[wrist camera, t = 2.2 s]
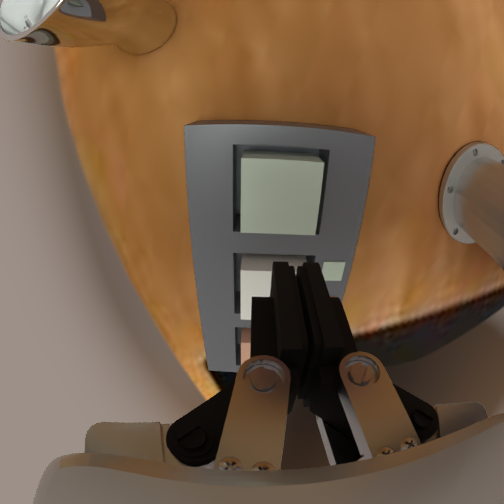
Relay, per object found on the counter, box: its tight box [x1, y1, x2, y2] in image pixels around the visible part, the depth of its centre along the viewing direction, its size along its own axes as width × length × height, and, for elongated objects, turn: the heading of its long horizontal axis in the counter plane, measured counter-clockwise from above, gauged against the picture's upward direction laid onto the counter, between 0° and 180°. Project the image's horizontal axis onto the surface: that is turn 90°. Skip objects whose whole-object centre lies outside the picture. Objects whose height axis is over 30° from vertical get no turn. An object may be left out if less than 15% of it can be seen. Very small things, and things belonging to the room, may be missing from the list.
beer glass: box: [0, 0, 177, 55], centre depth 10 cm, size 7×7×15 cm
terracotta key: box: [241, 327, 251, 365], centre depth 30 cm, size 6×6×3 cm
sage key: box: [241, 150, 324, 235], centre depth 20 cm, size 6×6×3 cm
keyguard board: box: [184, 120, 375, 372], centre depth 27 cm, size 14×28×5 cm, turn 179°
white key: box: [241, 253, 307, 320], centre depth 25 cm, size 6×6×3 cm
